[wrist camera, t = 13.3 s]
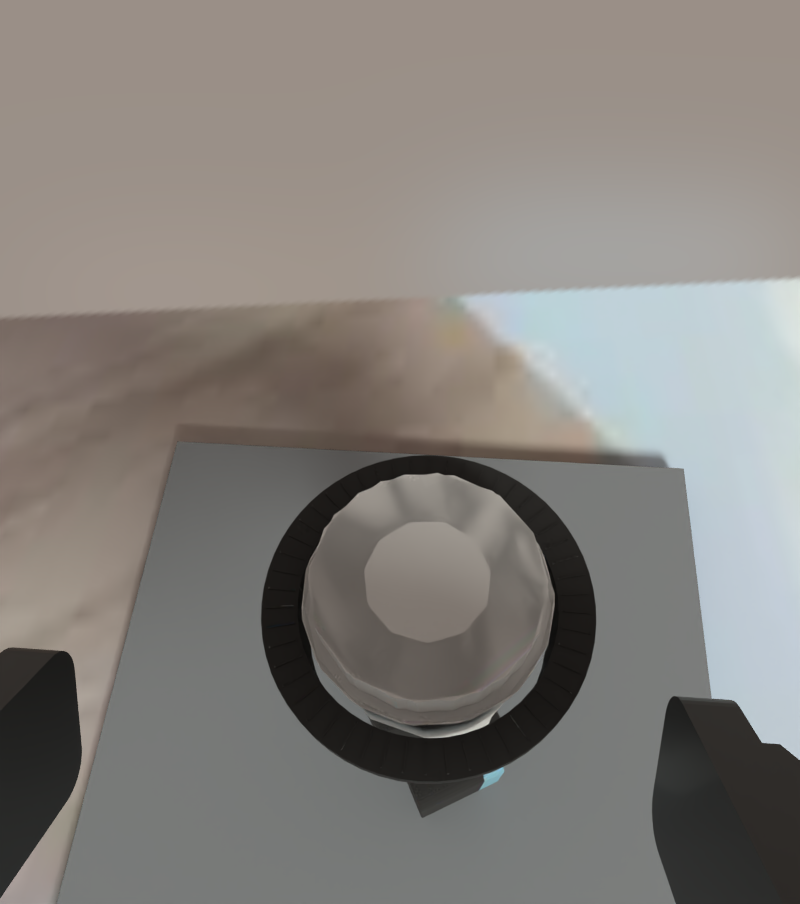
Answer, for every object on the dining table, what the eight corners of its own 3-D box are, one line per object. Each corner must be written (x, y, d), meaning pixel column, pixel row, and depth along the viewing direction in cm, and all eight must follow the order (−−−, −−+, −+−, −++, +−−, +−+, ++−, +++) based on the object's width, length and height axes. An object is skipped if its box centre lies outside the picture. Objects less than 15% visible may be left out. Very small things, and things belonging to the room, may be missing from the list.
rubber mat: (56, 959, 18) (41, 962, 17) (184, 453, 25) (177, 441, 24) (739, 1029, 17) (752, 1036, 16) (676, 480, 24) (683, 468, 23)
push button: (283, 614, 21) (182, 433, 12) (453, 542, 22) (469, 326, 13) (373, 860, 18) (322, 845, 9) (566, 764, 19) (682, 671, 10)
